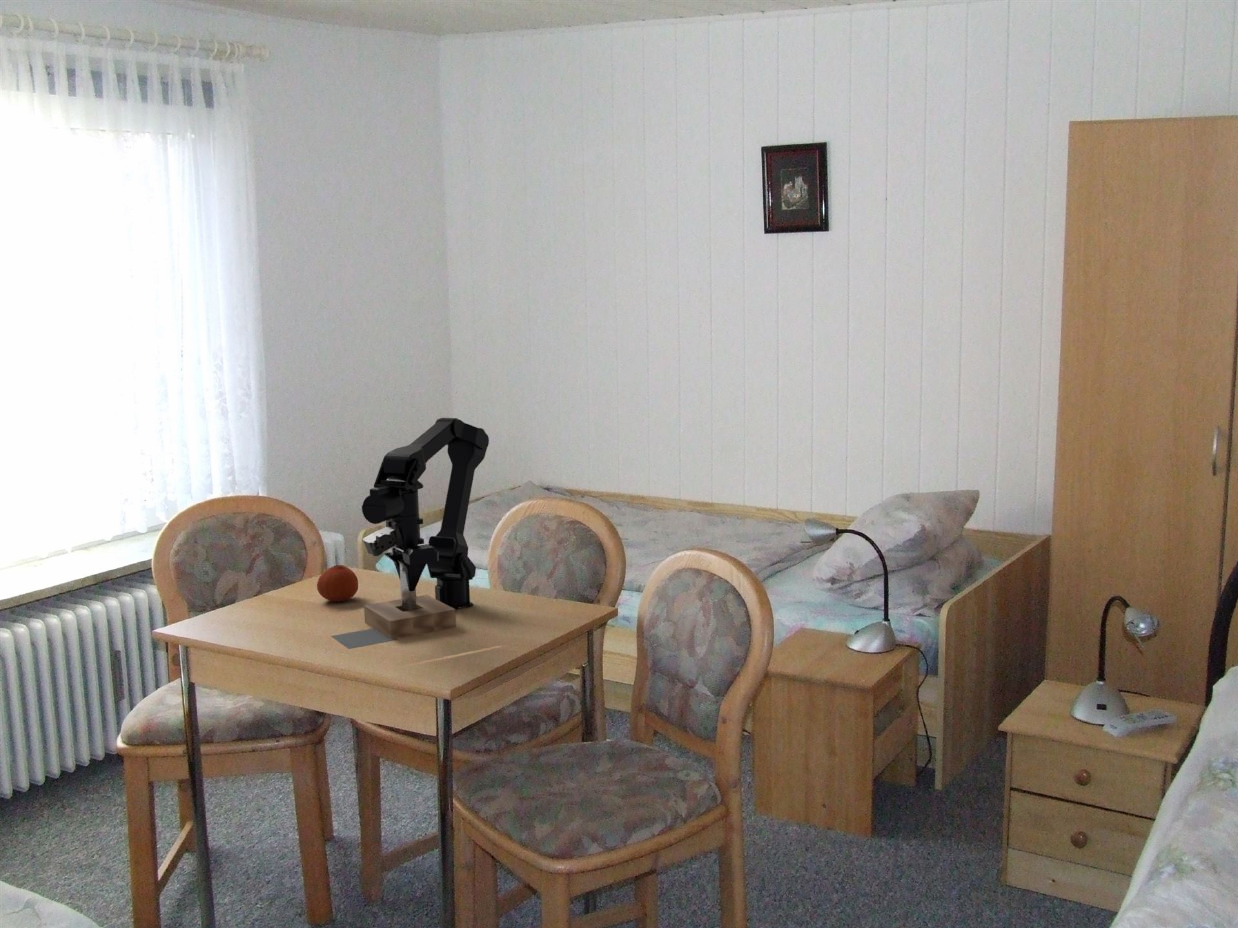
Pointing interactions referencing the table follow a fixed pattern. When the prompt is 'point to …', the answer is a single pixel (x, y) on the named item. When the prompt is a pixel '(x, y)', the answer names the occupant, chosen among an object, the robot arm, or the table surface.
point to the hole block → (409, 617)
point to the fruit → (337, 583)
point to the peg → (407, 592)
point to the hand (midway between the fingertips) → (408, 589)
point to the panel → (362, 638)
